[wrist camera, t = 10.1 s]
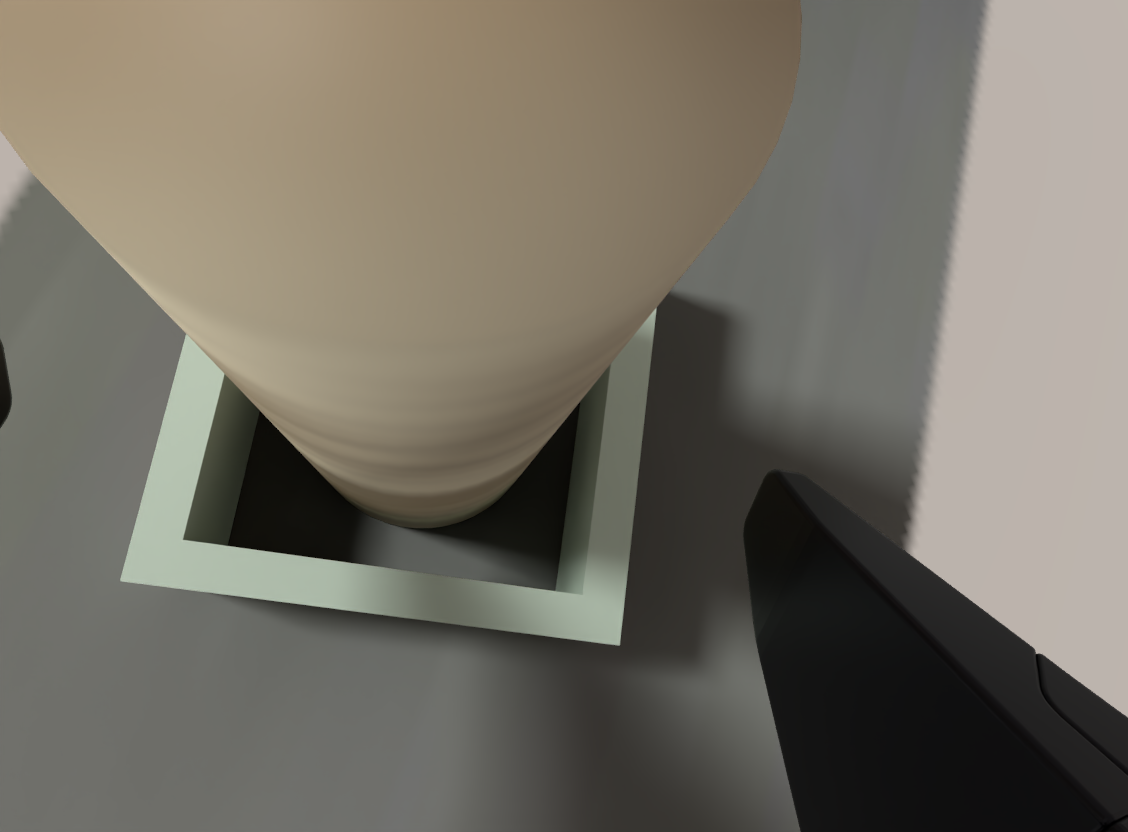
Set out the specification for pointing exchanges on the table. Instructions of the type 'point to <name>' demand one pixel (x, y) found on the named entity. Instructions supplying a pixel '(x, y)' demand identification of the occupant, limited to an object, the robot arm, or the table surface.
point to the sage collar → (206, 563)
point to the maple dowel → (403, 199)
